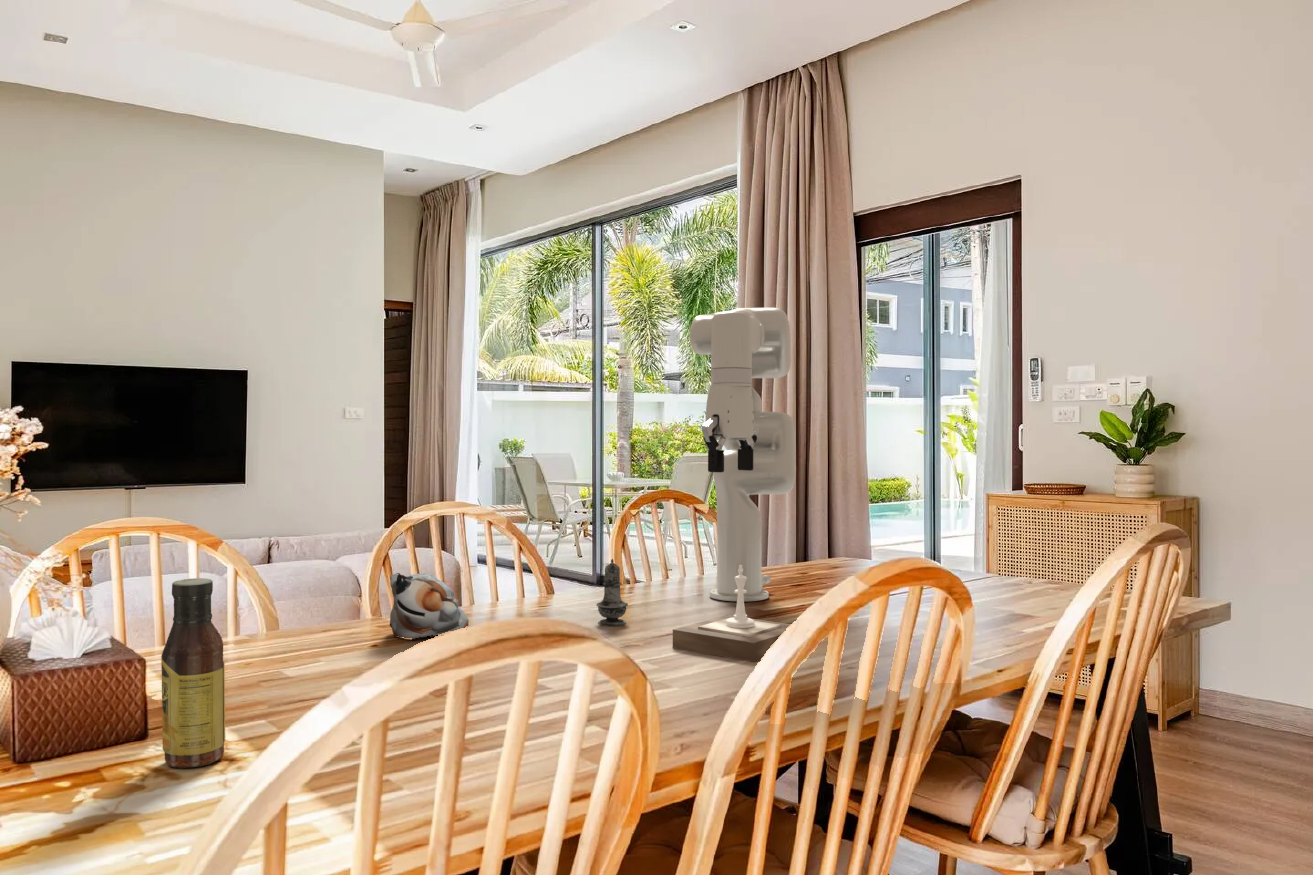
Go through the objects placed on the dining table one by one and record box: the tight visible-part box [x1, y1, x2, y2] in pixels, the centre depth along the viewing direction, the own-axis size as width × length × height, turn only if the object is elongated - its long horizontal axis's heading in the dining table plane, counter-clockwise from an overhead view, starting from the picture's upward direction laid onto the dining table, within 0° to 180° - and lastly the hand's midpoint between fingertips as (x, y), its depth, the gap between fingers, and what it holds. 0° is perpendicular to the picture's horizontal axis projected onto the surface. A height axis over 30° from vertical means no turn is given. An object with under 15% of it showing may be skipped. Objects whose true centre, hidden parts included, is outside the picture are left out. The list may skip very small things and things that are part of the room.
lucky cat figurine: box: [389, 572, 470, 640], centre depth 173 cm, size 15×12×14 cm
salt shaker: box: [595, 558, 629, 627], centre depth 185 cm, size 6×6×12 cm
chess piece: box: [726, 565, 755, 628], centre depth 166 cm, size 5×5×10 cm
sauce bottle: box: [160, 577, 226, 769], centre depth 109 cm, size 6×6×20 cm
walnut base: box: [672, 614, 791, 663], centre depth 166 cm, size 16×16×3 cm
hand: (731, 471), depth 185 cm, fingers open, 9 cm apart
